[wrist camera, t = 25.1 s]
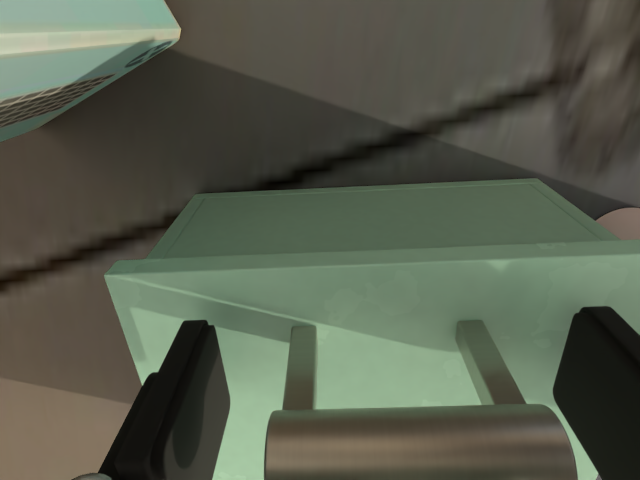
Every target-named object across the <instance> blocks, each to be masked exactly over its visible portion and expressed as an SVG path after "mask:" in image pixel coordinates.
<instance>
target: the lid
mask: <svg viewBox="0 0 640 480" xmlns="http://www.w3.org/2000/svg"><path fill="white" fill-rule="evenodd" d="M104 278H105V281H106V283H107V286H108V289H109V292H110V295H111V298H112V301H113V304H114V306H115V309H116V312H117V315H118V318H119V321H120V324H121V327H122V329H123V332H124V335H125V338H126V341H127V344H128V347H129V350H130V352H131V355H132V358H133V361H134V364H135V367H136V370H137V373H138V375H139V378H140V381H141V384H142V386H143V384H144V382H145V380H146V378H147V377H148V375H149V374H151V373H152V372H158V371H159V369H160V367H161V365H162V363H163V361H164V359H165V357H166V355H167V353H168V351H169V349H170V347H171V345H172V342H173V340H174V338H175V336H176V334H177V332H178V330H179V328H180V326H181V324H182V323H183V321H185V320H207V322H208V324H209V325H214V326H215V329H216V334H217V338H218V343H219V347H220V352H221V357H222V361H223V366H224V371H225V375H226V380H227V384H228V389H229V394H230V411H229V415H228V419H227V423H226V427H225V431H224V435H223V439H222V443H221V447H220V451H219V455H218V459H217V463H216V466H215V470H214V474H213V478H212V480H595V479H596V477H597V474H598V472H597V470H596V468H595V467H594V465H593V463H592V462H591V460H590V459H589V457H588V455H587V454H586V452H585V450H584V449H583V447H582V445H581V444H580V442H579V440H578V439H577V437H576V435H575V434H574V432H573V430H572V429H571V427H570V426H569V424H568V422H567V421H566V419H565V417H564V416H563V414H562V412H561V411H560V409H559V407H558V406H557V404H556V402H555V400H554V397H553V385H554V382H555V378H556V375H557V371H558V368H559V364H560V361H561V357H562V354H563V350H564V347H565V343H566V340H567V336H568V332H569V329H570V325H571V322H572V318H573V316H574V314H575V313H579V311H580V309H581V308H583V307H593V306H609V307H611V308H612V309H614V310H615V311H616V312H617V313H618V314H619V315H620V316H621V317H622V318H623V319H624V320H625V321H626V322H627V323H628V324H629V325H630V326H631V327H632V328H633V329H634V330H635V331H636V332H637V333H638V334H639V335H640V239H635V240H611V241H586V242H561V243H536V244H511V245H486V246H461V247H437V248H412V249H387V250H362V251H337V252H312V253H287V254H263V255H238V256H213V257H188V258H163V259H138V260H118V261H116V262H115V263H114V264H113V265H112V267H111V268H110V269H109V270H108V271H107V272H106V273H105V274H104Z"/></svg>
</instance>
